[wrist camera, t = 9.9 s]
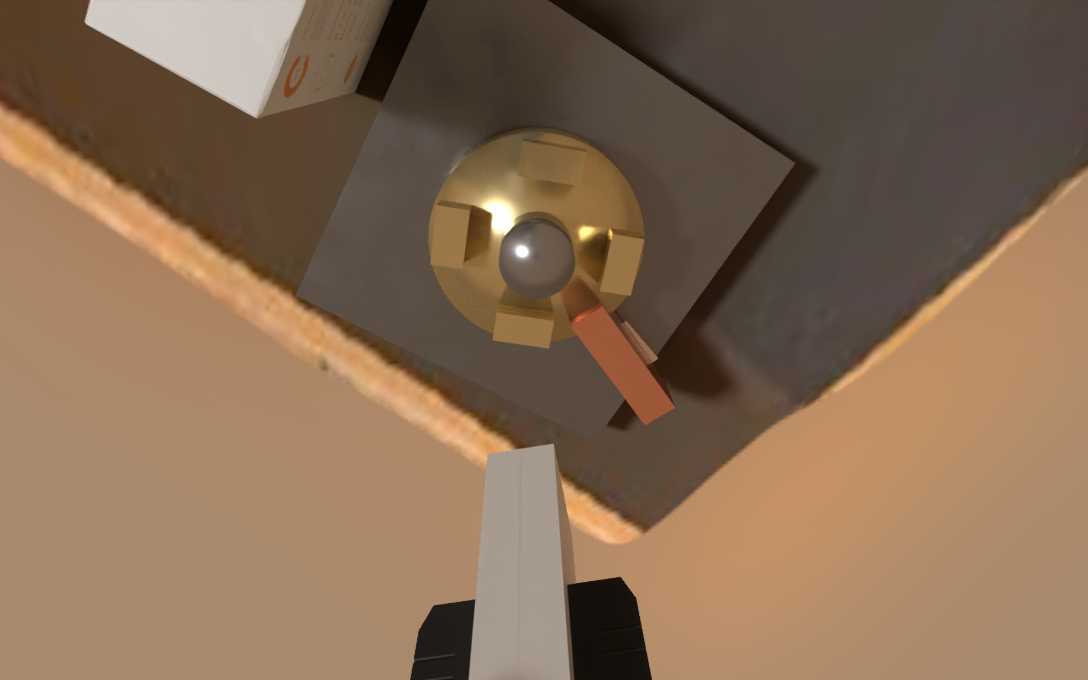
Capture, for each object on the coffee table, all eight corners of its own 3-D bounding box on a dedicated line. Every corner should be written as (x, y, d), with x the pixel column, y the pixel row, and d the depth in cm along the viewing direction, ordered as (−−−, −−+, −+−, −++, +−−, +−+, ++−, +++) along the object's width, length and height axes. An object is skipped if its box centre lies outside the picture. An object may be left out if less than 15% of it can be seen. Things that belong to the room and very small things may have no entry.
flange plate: (309, 280, 39) (258, 334, 31) (461, -53, 32) (440, -83, 24) (593, 422, 43) (605, 498, 36) (781, 157, 36) (844, 185, 29)
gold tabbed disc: (392, 209, 34) (377, 226, 31) (562, 80, 32) (565, 85, 29) (575, 434, 40) (579, 468, 37) (730, 341, 38) (749, 369, 35)
